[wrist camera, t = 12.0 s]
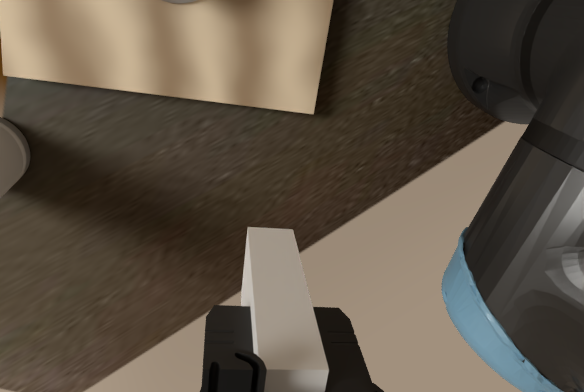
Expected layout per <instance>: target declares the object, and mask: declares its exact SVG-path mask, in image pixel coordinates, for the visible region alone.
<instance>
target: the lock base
mask: <svg viewBox="0 0 584 392" xmlns="http://www.w3.org/2000/svg"><path fill="white" fill-rule="evenodd" d="M332 6H333V0H0V31H1V47H2V62H3V75H4V76H12V77H20V78H28V79H36V80H44V81H52V82H60V83H68V84H76V85H84V86H92V87H100V88H108V89H116V90H124V91H132V92H140V93H148V94H156V95H164V96H172V97H180V98H188V99H196V100H204V101H212V102H220V103H227V104H235V105H243V106H251V107H259V108H267V109H275V110H283V111H291V112H299V113H307V114H314V109H315V103H316V97H317V92H318V86H319V80H320V74H321V69H322V63H323V57H324V51H325V46H326V40H327V34H328V29H329V23H330V17H331V11H332Z"/></svg>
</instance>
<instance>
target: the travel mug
mask: <svg viewBox="0 0 584 392" xmlns="http://www.w3.org/2000/svg"><path fill="white" fill-rule="evenodd" d="M29 163H30V149H29V145H28V143H27V141H26V139H25V137H24V136H23V134H22V133H21V132H20V130H19V129H17V128H16V127H15V126H14V125H13V124H11V123H10V122H8V121H7V120H5V119H3V118H1V117H0V198H1V197H2V196H3V195H4V194H5V193H6V192H7V191H8V190H9V189H10V188H11V187H12V186H13V185H14V184H15V183H16V182H17V181H18V180H19V179H20V178H21V177H22V176H23V175H24V173H25V172H26V171H27V169H28V166H29Z"/></svg>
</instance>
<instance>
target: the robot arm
mask: <svg viewBox="0 0 584 392" xmlns="http://www.w3.org/2000/svg"><path fill="white" fill-rule="evenodd" d="M448 58H449V64H450V68H451V72H452V74H453V77H454V79H455V82H456V84H457V85H458V87H459V89H460V90H461V92H462V93H463V94H464V96H465V97H466V98H467V99H468V100H469V101H470V102H471V103H472V104H474V105H475V106H476V107H478V108H479V109H481V110H483V111H484V112H486V113H488V114H490V115H492V116H494V117H496V118H498V119H501V120H504V121H507V122H512V123H518V124H529V125H528V127H527V129H526V131H525V132H524V134H523V135H522V137H521V138H520V140H519V141H518V143H517V145H516V146H515V148H514V150H513V152H512V153H511V155H510V157H509V158H508V160H507V162H506V164H505V165H504V167H503V169H502V170H501V172H500V174H499V176H498V177H497V179H496V181H495V183H494V184H493V186H492V188H491V189H490V191H489V193H488V195H487V196H486V198H485V200H484V201H483V203H482V205H481V207H480V208H479V210H478V212H477V214H476V215H475V217H474V219H473V220H472V222H471V224H470V226H469V227H466V228H465V229H464V230H463V232H462V233H461V236H460V237H459V242H458V247H457V248H456V250H455V253H454V255H453V257H452V259H451V261H450V263H449V265H448V267H447V268H446V270H445V272H444V275H443V279H442V294H443V299H444V302H445V304H446V308H447V312H448V314H449V316H450V318H451V320H452V322H453V324H454V325H455V327H456V328H457V330H458V331H459V333H460V334H461V336H462V337H463V338H464V340H465V341H466V342H467V343H468V344H469V346H470V347H471V348H472V349H473V350H474V351H475V352H476V353H477V355H479V357H480V358H481V359H482V360H484V362H485V363H487V364H488V366H490V367H491V368H492V369H493V370H494V371H495V372H496V373H498V374H499V375H500V376H501V377H502V378H504V379H505V380H506V381H508V382H509V383H510V384H512V385H513V386H515V387H516V388H518V389H519V390H521V391H522V392H584V0H458V1H457V3H456V5H455V8H454V11H453V14H452V17H451V21H450V25H449V32H448ZM200 392H384V391H383V390H382V389H380V388H379V387H378V386H377V385H376V384H374V383H372V381H371V378H370V375H369V372H368V370H367V367H366V364H365V361H364V358H363V355H362V352H361V350H360V347H359V345H358V341H357V338H356V336H355V334H354V330H353V327H352V324H351V321H350V319H349V318H348V317H347V316H346V315H345V314H344V313H343V312H342V311H341V310H340V309H339V308H328V307H327V308H325V307H313V306H312V302H311V298H310V294H309V290H308V287H307V283H306V279H305V275H304V271H303V267H302V263H301V259H300V255H299V251H298V247H297V244H296V240H295V236H294V232H293V229H275V228H257V227H248V230H247V240H246V250H245V261H244V271H243V282H242V292H241V306H221V305H214V307H213V308H212V309H211V311H210V312H209V314H208V315H207V316H206V327H205V342H204V358H203V375H202V387H201V390H200Z"/></svg>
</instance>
